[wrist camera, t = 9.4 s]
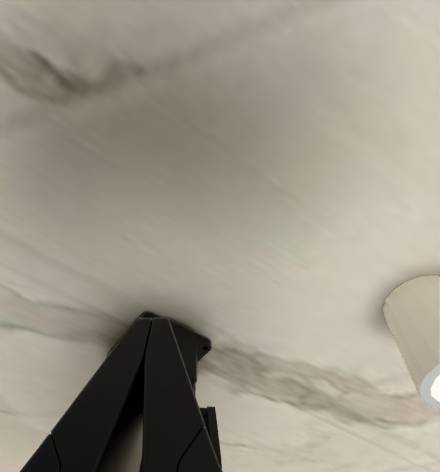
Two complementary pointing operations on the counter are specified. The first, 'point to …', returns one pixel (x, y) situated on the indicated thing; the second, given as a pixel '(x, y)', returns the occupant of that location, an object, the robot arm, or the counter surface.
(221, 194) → the counter surface
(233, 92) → the counter surface
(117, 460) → the robot arm
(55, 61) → the counter surface
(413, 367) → the white cup
